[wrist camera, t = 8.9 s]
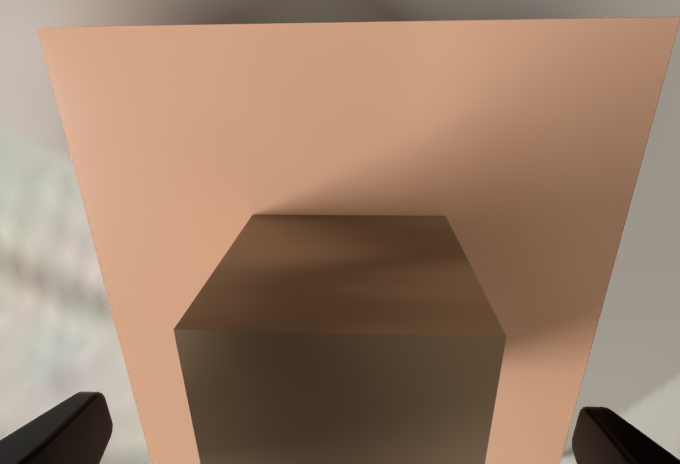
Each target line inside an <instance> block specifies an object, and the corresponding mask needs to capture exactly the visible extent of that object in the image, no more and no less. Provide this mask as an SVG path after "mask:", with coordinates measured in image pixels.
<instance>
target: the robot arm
mask: <svg viewBox="0 0 680 464" xmlns="http://www.w3.org/2000/svg"><path fill="white" fill-rule="evenodd" d="M112 428H113V425H112V420H111V416H110V413H109V409H108V406H107V403H106V399H105V397H104V395H103V394H102V393H100V392H79V393H77V394H75V395H73V396H71V397H70V398H68V399H67V400H65V401H63V402H62V403H60V404H58V405H57V406H55V407H54V408H52V409H50V410H49V411H47V412H45V413H44V414H42V415H41V416H39V417H37V418H36V419H34V420H33V421H31V422H29V423H28V424H26V425H24V426H23V427H21V428H20V429H18V430H16V431H15V432H13V433H11V434H10V435H8V436H7V437H5V438H3V439H2V440H0V464H99V463H100V461H101V458H102V456H103V454H104V451H105V449H106V447H107V444H108V442H109V440H110V437H111V434H112ZM572 448H573V453H574V456H575V459H576V462H577V464H680V460H679V459H678V458H676V457H675V456H674V455H672V454H671V453H669V452H668V451H667V450H665V449H664V448H662V447H661V446H660V445H658V444H657V443H656V442H654V441H653V440H651V439H650V438H649V437H647V436H646V435H645V434H643V433H642V432H640V431H639V430H638V429H636V428H635V427H634V426H632V425H631V424H629V423H628V422H627V421H625V420H624V419H623V418H621V417H620V416H618V415H617V414H616V413H614V412H613V411H611V410H610V409H608V408H604V407H583V408H582V409H581V410H580V413H579V416H578V419H577V423H576V427H575V430H574V434H573V438H572Z"/></svg>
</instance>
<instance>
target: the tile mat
mask: <svg viewBox="0 0 680 464" xmlns="http://www.w3.org/2000/svg"><path fill="white" fill-rule="evenodd" d="M679 22H680V17H637V18H579V19H578V18H575V19H514V20H456V21H455V20H454V21H397V22H395V21H393V22H339V23H337V22H336V23H335V22H333V23H274V24H273V23H272V24H215V25H214V24H212V25H156V26H155V25H154V26H153V25H152V26H93V27H92V26H91V27H38V28H37V30H38V34H39V37H40V41H41V45H42V49H43V52H44V56H45V60H46V64H47V68H48V72H49V75H50V79H51V83H52V86H53V91H54V94H55V98H56V102H57V106H58V109H59V113H60V117H61V121H62V125H63V128H64V132H65V136H66V140H67V143H68V147H69V151H70V155H71V159H72V163H73V167H74V170H75V174H76V178H77V182H78V186H79V189H80V193H81V197H82V201H83V205H84V208H85V212H86V216H87V220H88V224H89V227H90V231H91V235H92V239H93V243H94V246H95V250H96V254H97V258H98V262H99V265H100V269H101V273H102V277H103V281H104V284H105V288H106V292H107V296H108V300H109V303H110V307H111V311H112V315H113V319H114V322H115V326H116V330H117V334H118V338H119V341H120V345H121V349H122V353H123V357H124V360H125V364H126V368H127V372H128V376H129V379H130V383H131V387H132V391H133V395H134V398H135V402H136V406H137V410H138V414H139V418H140V421H141V425H142V429H143V433H144V437H145V440H146V444H147V448H148V452H149V456H150V459H151V463H152V464H200V459H199V454H198V449H197V444H196V439H195V434H194V429H193V424H192V420H191V415H190V410H189V405H188V400H187V395H186V390H185V385H184V380H183V375H182V370H181V365H180V360H179V355H178V350H177V345H176V340H175V335H174V328H175V327H176V325H177V324H178V322H179V321H180V319H181V318H182V316H183V315H184V314H185V312H186V311H187V309H188V308H189V306H190V305H191V303H192V302H193V300H194V299H195V298H196V296H197V295H198V293H199V292H200V290H201V289H202V287H203V286H204V284H205V283H206V282H207V280H208V279H209V277H210V276H211V274H212V273H213V271H214V270H215V268H216V267H217V266H218V264H219V263H220V261H221V260H222V258H223V257H224V255H225V254H226V252H227V251H228V250H229V248H230V247H231V245H232V244H233V242H234V241H235V239H236V238H237V236H238V235H239V234H240V232H241V231H242V229H243V228H244V226H245V225H246V223H247V222H248V220H249V219H250V218H251V216H252V215H398V216H446V218H447V220H448V222H449V224H450V226H451V228H452V230H453V232H454V234H455V236H456V238H457V239H458V241H459V243H460V245H461V247H462V249H463V251H464V253H465V255H466V257H467V259H468V261H469V263H470V265H471V267H472V269H473V271H474V273H475V275H476V277H477V279H478V281H479V283H480V285H481V287H482V289H483V291H484V293H485V295H486V297H487V299H488V301H489V303H490V305H491V307H492V309H493V311H494V313H495V315H496V317H497V319H498V321H499V322H500V324H501V326H502V328H503V330H504V332H505V334H506V336H507V337H506V343H505V348H504V354H503V360H502V366H501V372H500V378H499V384H498V389H497V395H496V401H495V407H494V413H493V419H492V425H491V430H490V436H489V442H488V448H487V454H486V460H485V464H560V461H561V457H562V454H563V450H564V446H565V442H566V439H567V435H568V431H569V428H570V424H571V420H572V417H573V413H574V409H575V405H576V402H577V398H578V395H579V391H580V387H581V384H582V380H583V376H584V373H585V369H586V365H587V361H588V357H589V354H590V350H591V347H592V343H593V339H594V336H595V332H596V328H597V325H598V321H599V317H600V313H601V310H602V306H603V302H604V298H605V295H606V291H607V288H608V284H609V280H610V277H611V273H612V269H613V266H614V262H615V258H616V255H617V250H618V247H619V243H620V240H621V236H622V232H623V229H624V225H625V221H626V218H627V214H628V210H629V206H630V202H631V199H632V195H633V191H634V188H635V184H636V181H637V177H638V173H639V170H640V166H641V162H642V159H643V155H644V151H645V148H646V144H647V140H648V137H649V133H650V129H651V125H652V122H653V118H654V114H655V110H656V107H657V103H658V100H659V95H660V92H661V89H662V84H663V81H664V78H665V74H666V70H667V66H668V63H669V59H670V55H671V52H672V48H673V44H674V41H675V37H676V33H677V29H678V26H679Z"/></svg>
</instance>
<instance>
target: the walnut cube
mask: <svg viewBox="0 0 680 464" xmlns="http://www.w3.org/2000/svg"><path fill="white" fill-rule="evenodd" d="M174 335H175V340H176V345H177V350H178V355H179V360H180V365H181V370H182V375H183V380H184V385H185V390H186V395H187V400H188V405H189V410H190V415H191V420H192V424H193V429H194V434H195V439H196V444H197V449H198V454H199V459H200V464H485V460H486V454H487V448H488V442H489V436H490V430H491V425H492V419H493V413H494V407H495V401H496V395H497V389H498V384H499V378H500V372H501V366H502V360H503V354H504V348H505V343H506V337H507V336H506V334H505V332H504V330H503V328H502V326H501V324H500V322H499V321H498V319H497V317H496V315H495V313H494V311H493V309H492V307H491V305H490V303H489V301H488V299H487V297H486V295H485V293H484V291H483V289H482V287H481V285H480V283H479V281H478V279H477V277H476V275H475V273H474V271H473V269H472V267H471V265H470V263H469V261H468V259H467V257H466V255H465V253H464V251H463V249H462V247H461V245H460V243H459V241H458V239H457V238H456V236H455V234H454V232H453V230H452V228H451V226H450V224H449V222H448V220H447V218H446V216H398V215H252V216H251V218H250V219H249V220H248V222H247V223H246V225H245V226H244V228H243V229H242V231H241V232H240V234H239V235H238V236H237V238H236V239H235V241H234V242H233V244H232V245H231V247H230V248H229V250H228V251H227V252H226V254H225V255H224V257H223V258H222V260H221V261H220V263H219V264H218V266H217V267H216V268H215V270H214V271H213V273H212V274H211V276H210V277H209V279H208V280H207V282H206V283H205V284H204V286H203V287H202V289H201V290H200V292H199V293H198V295H197V296H196V298H195V299H194V300H193V302H192V303H191V305H190V306H189V308H188V309H187V311H186V312H185V314H184V315H183V316H182V318H181V319H180V321H179V322H178V324H177V325H176V327H175V328H174Z"/></svg>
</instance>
